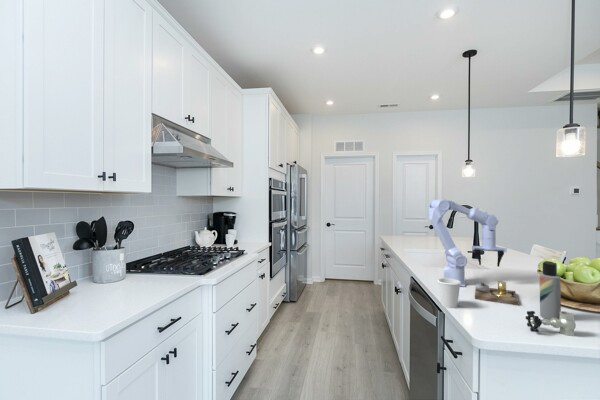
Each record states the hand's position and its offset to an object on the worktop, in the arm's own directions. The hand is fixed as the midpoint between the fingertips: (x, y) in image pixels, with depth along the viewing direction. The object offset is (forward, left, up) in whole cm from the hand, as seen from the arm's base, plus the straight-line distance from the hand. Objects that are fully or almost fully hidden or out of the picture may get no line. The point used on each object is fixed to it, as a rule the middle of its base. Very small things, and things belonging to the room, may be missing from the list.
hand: (489, 265), depth 146 cm
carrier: (+2, -21, -9) cm, 23 cm away
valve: (+16, -53, -10) cm, 56 cm away
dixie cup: (-14, -43, -10) cm, 46 cm away
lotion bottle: (+18, -38, -10) cm, 43 cm away
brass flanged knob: (+5, -20, -10) cm, 22 cm away
